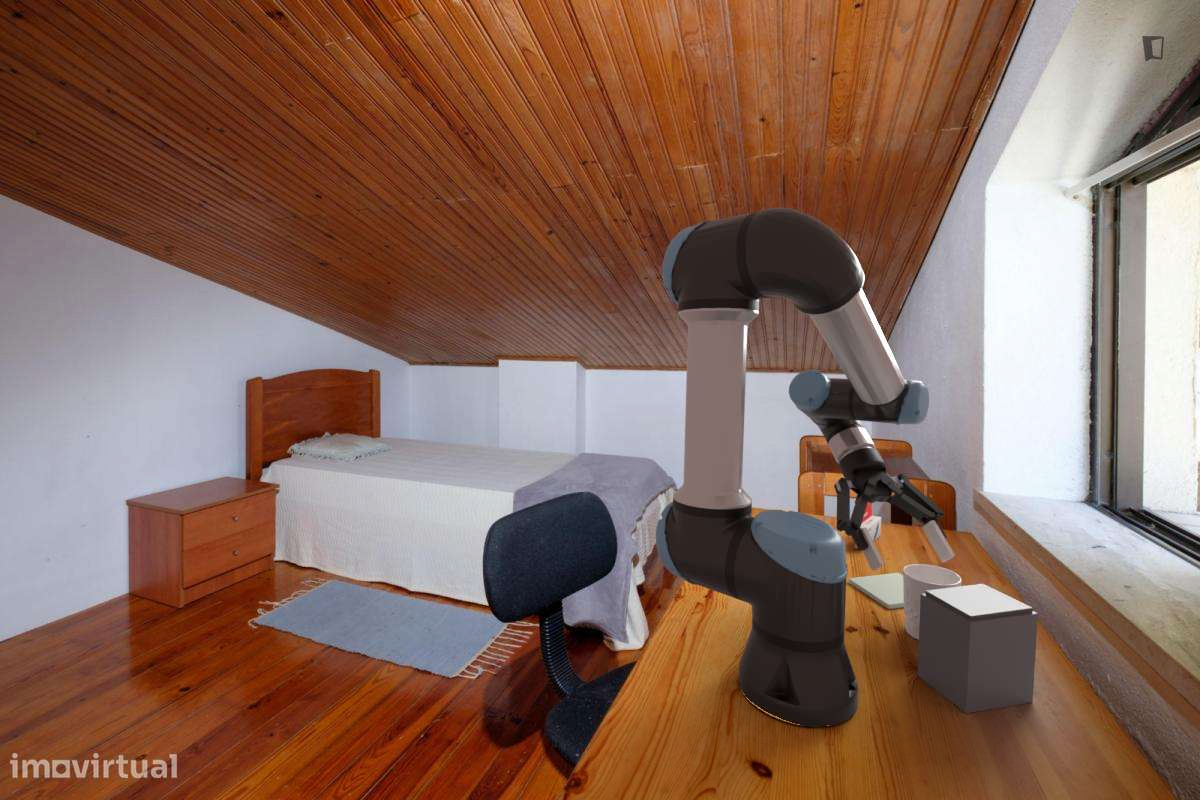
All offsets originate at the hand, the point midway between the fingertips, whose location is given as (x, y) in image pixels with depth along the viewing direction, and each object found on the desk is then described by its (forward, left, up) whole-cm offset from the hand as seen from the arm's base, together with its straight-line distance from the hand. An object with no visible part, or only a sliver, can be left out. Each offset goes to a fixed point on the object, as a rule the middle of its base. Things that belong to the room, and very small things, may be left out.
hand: (913, 563), depth 90 cm
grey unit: (-6, -18, -9) cm, 21 cm away
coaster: (+4, +9, -9) cm, 14 cm away
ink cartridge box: (+16, +32, -10) cm, 37 cm away
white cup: (-1, -5, -10) cm, 11 cm away
